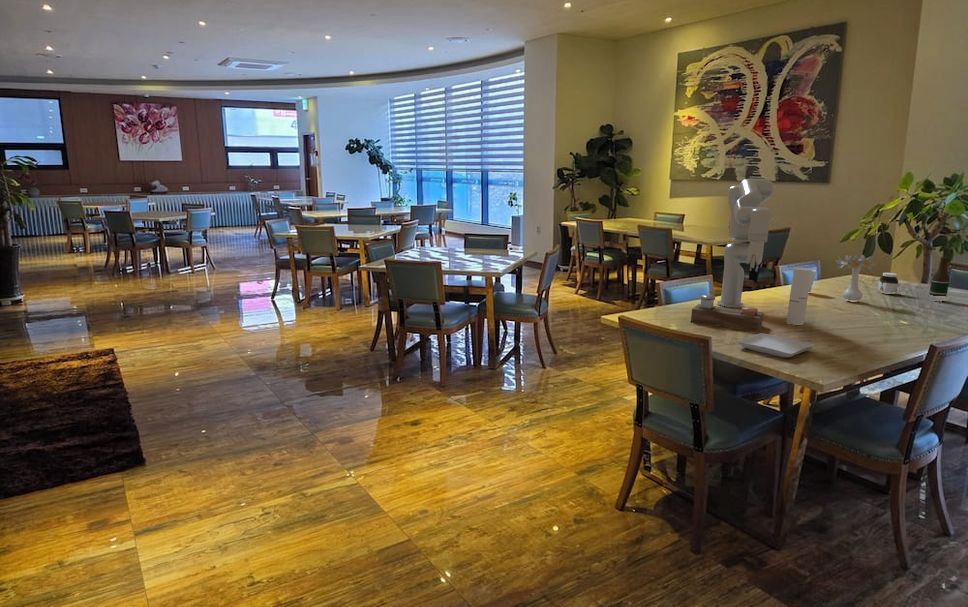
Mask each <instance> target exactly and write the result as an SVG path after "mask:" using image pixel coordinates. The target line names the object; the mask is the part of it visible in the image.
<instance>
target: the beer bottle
mask: <svg viewBox="0 0 968 607" xmlns="http://www.w3.org/2000/svg"><path fill="white" fill-rule="evenodd" d="M939 259H940V261H939V264H938V267H937V268H938V269H937V270H936V272H935V273H934V274H933V276H932V277H931V281H930V288H929V291H928V292H929V293H928V295H929V294H930V295H933V296H946V297H947V296H948V290H949V284H950V275H949V274H948V262H949V257H948V256H941V257H940V258H939Z"/></svg>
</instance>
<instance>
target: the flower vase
mask: <svg viewBox="0 0 968 607" xmlns="http://www.w3.org/2000/svg"><path fill="white" fill-rule="evenodd" d="M851 257H852V256H851V255H849V256H848V254H846V255H845V257H844V260H842V259H841V257H840V256H837V259H835V264H838V265H837V267H836V270H839V269H840V270H842V268H843V267H845V266H846V269H847V270H852V275H851V280H850V283H849V286H848V287H847V288H846V289H845V290H844V291H843V292H842V294H841V296H842V298H843V299H844V298H845V299H848V300H858V301H860V300H861V299H863V296H864V295H863V293H862V292H861V290H860V289H859V276H860V272H861V269H862V268H866V269H867V268H868V269H869V270H870V271H872V270H873V267H874V266H877V263H876V262H874V261H872V259H873V257H872V256H871V255H870V256H869V257H867V258H866V256H865V255H864V254H861V258H859V257H858V254H855V255H854V257H853V258H851ZM845 299H844V300H845Z"/></svg>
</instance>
